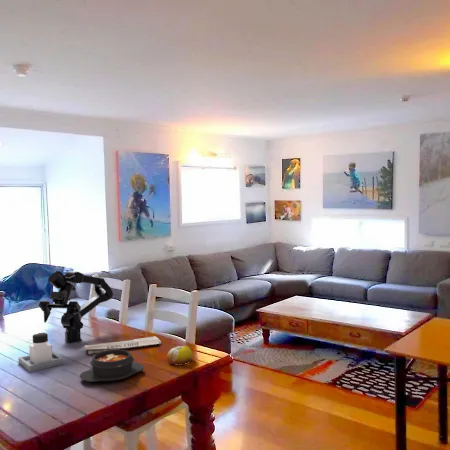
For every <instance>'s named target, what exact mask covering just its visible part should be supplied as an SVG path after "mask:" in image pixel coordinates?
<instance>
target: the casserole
mask: <svg viewBox="0 0 450 450" xmlns="http://www.w3.org/2000/svg"><path fill="white" fill-rule="evenodd" d="M91 358H92V359H91V360H90V362H89V364H90V366H91V368H90V369H88V370H85V371H83V372H81V373H80V375H79V378H80V379H81V380H82V381H85V382H88V383H95V382H114V381H119V380H123V379H126V378H129V377H131V376H132V375H134V374H137V373H140V372H141V371H143V370H144V365H143V364H141V363H139V362H137V361H135V357H134V356H133V355H132V352H130V351H129V350H127V349H123V350H107V351H103V352H99V353H95V354H94V355H93V356H92V357H91Z"/></svg>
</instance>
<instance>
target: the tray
mask: <svg viewBox="0 0 450 450" xmlns="http://www.w3.org/2000/svg"><path fill="white" fill-rule="evenodd" d="M17 361H18V364H19V365H20V366H21V367H23V368H24V369H25V370H27V372H29V373H33V372H36V371H40V370H44V369H48V368H52V367H56V366H60V365H64V357H62V356H61V355H59V354H58V353H56V352H54V351H53V350H52V360H50V361H46V362H42V363H37V364H34V363H33V362H31V361H30V354H29V355H25V356H20V357H18V360H17Z"/></svg>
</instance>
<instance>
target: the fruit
mask: <svg viewBox="0 0 450 450" xmlns="http://www.w3.org/2000/svg"><path fill="white" fill-rule="evenodd" d="M193 357H194V356H193V351H192V350H191V348H190V347H189V346H187V345H183V346H182V345H181V346H180V345H177V346H176V347H172V348H171V349H169V351H168V353H167V354H166V359H167V362H168V363H169V364H170V365H172V364H178V365H177V366H180V365H179V364H185V363H188V362H190V361H191V362H192V361H193ZM191 362H190V363H191ZM185 365H186V364H185Z"/></svg>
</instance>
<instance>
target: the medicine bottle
mask: <svg viewBox="0 0 450 450" xmlns="http://www.w3.org/2000/svg"><path fill="white" fill-rule="evenodd" d="M52 351H53V347H52V344H50V343H49V335H48V333H46V332H37V333H34V334H33V335H32V344H29V355H30V361H31V362H33V363H34V364H37V363H42V362H46V361H50V360H52Z"/></svg>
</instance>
